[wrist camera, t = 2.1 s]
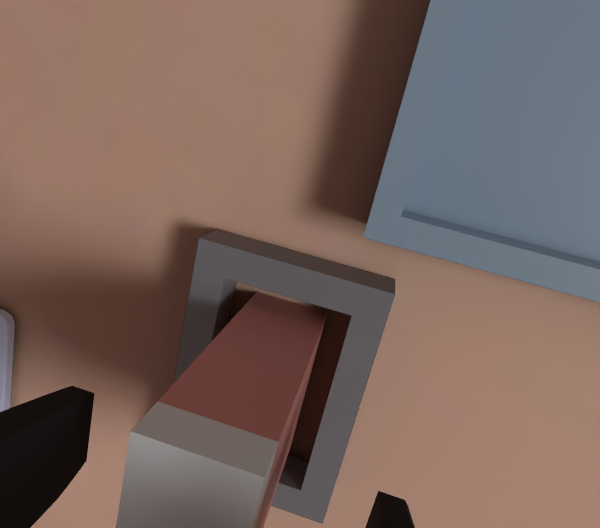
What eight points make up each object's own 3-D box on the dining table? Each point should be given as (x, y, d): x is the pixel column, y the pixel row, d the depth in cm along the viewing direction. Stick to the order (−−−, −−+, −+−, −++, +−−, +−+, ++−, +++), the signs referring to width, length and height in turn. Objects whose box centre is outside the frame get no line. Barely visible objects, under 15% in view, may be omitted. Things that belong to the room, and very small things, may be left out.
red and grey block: (229, 415, 17) (100, 629, 10) (256, 291, 16) (130, 431, 8) (293, 437, 17) (212, 676, 9) (328, 313, 16) (264, 477, 8)
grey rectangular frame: (177, 440, 18) (158, 465, 17) (216, 229, 16) (198, 237, 14) (328, 491, 17) (322, 524, 16) (395, 279, 15) (394, 294, 13)
